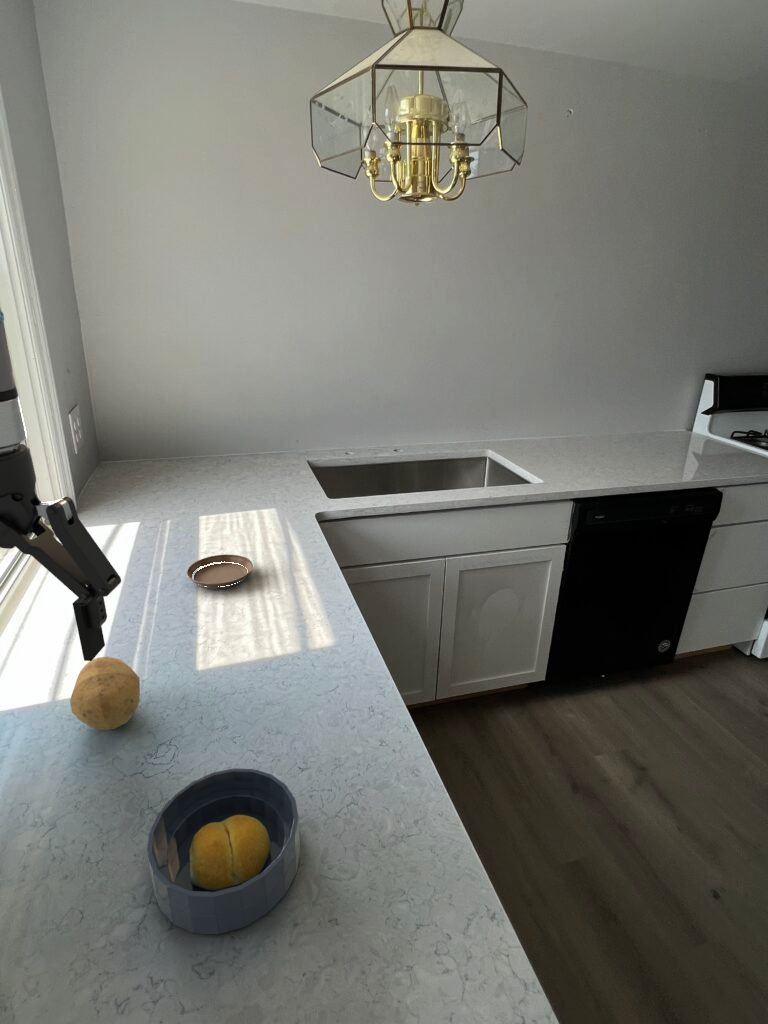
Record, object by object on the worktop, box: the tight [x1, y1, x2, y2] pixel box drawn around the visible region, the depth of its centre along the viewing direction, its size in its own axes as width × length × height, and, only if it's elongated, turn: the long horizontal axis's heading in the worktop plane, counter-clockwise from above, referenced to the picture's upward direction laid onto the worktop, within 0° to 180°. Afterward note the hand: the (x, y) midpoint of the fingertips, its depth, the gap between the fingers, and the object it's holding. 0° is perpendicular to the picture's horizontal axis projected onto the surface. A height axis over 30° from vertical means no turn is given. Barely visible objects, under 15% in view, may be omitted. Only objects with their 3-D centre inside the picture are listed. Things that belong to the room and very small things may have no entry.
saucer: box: [186, 553, 254, 590], centre depth 129 cm, size 15×15×3 cm
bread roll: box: [189, 815, 270, 891], centre depth 63 cm, size 8×9×4 cm
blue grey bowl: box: [146, 767, 301, 935], centre depth 63 cm, size 16×16×6 cm
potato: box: [69, 656, 141, 732], centre depth 84 cm, size 10×14×8 cm
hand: (29, 651), depth 57 cm, fingers open, 13 cm apart
